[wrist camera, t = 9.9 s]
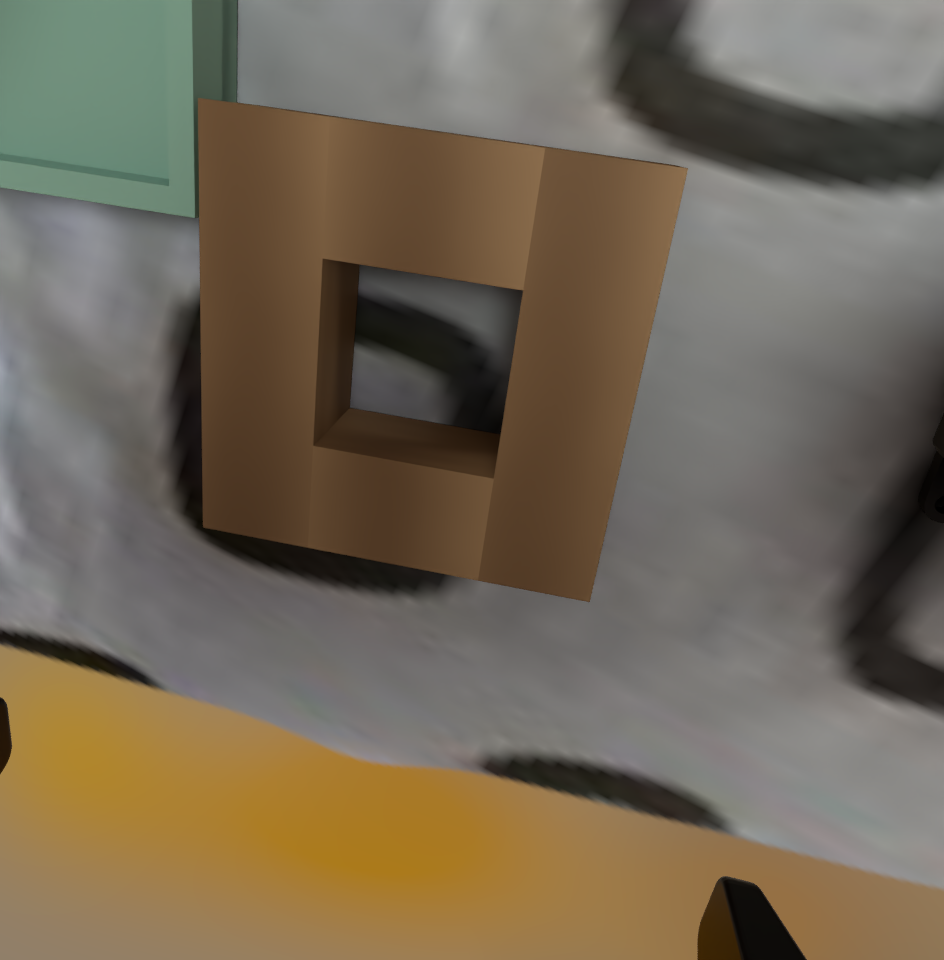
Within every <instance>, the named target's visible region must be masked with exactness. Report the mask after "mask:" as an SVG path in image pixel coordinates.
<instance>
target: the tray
mask: <svg viewBox="0 0 944 960" xmlns="http://www.w3.org/2000/svg"><path fill="white" fill-rule="evenodd" d="M198 98H203V99H211V100H219V101H227V102H235V103H237V0H0V187H1V188H8V189H14V190H20V191H27V192H33V193H39V194H46V195H52V196H58V197H65V198H71V199H77V200H84V201H90V202H96V203H103V204H109V205H115V206H122V207H128V208H134V209H141V210H147V211H153V212H160V213H166V214H172V215H179V216H185V217H191V218H198V217H199V151H198Z"/></svg>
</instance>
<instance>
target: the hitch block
mask: <svg viewBox="0 0 944 960" xmlns="http://www.w3.org/2000/svg"><path fill="white" fill-rule="evenodd" d="M198 151H199V234H200V318H201V401H202V484H203V528H209V529H214V530H219V531H224V532H229V533H234V534H240V535H245V536H250V537H255V538H260V539H266V540H271V541H276V542H281V543H286V544H291V545H297V546H302V547H307V548H312V549H317V550H323V551H328V552H333V553H338V554H343V555H348V556H354V557H359V558H364V559H369V560H374V561H379V562H385V563H390V564H395V565H400V566H405V567H411V568H416V569H421V570H426V571H431V572H436V573H442V574H447V575H452V576H457V577H462V578H467V579H473V580H478V581H483V582H488V583H493V584H499V585H504V586H509V587H514V588H519V589H524V590H530V591H535V592H540V593H545V594H550V595H556V596H561V597H566V598H571V599H576V600H581V601H587V602H590V598H591V594H592V589H593V585H594V580H595V576H596V572H597V567H598V563H599V558H600V554H601V550H602V545H603V541H604V536H605V532H606V528H607V523H608V519H609V514H610V510H611V506H612V501H613V497H614V492H615V488H616V483H617V479H618V475H619V470H620V466H621V461H622V457H623V453H624V448H625V444H626V439H627V435H628V431H629V426H630V422H631V417H632V413H633V409H634V404H635V400H636V395H637V391H638V386H639V382H640V378H641V373H642V369H643V364H644V360H645V356H646V351H647V347H648V342H649V338H650V334H651V329H652V325H653V320H654V316H655V312H656V307H657V303H658V298H659V294H660V289H661V285H662V281H663V276H664V272H665V267H666V263H667V259H668V254H669V250H670V245H671V241H672V237H673V232H674V228H675V223H676V219H677V215H678V210H679V206H680V201H681V197H682V192H683V188H684V184H685V179H686V175H687V170H688V168H684V167H680V166H675V165H669V164H662V163H655V162H648V161H641V160H634V159H627V158H620V157H613V156H606V155H600V154H593V153H586V152H579V151H572V150H565V149H558V148H551V147H544V146H537V145H530V144H523V143H516V142H509V141H502V140H495V139H488V138H481V137H474V136H468V135H461V134H454V133H447V132H440V131H433V130H426V129H419V128H412V127H405V126H398V125H391V124H384V123H377V122H370V121H363V120H356V119H349V118H342V117H336V116H329V115H322V114H315V113H308V112H301V111H294V110H287V109H280V108H273V107H266V106H259V105H251V104H243V103H235V102H227V101H219V100H211V99H203V98H198ZM360 264H361V265H367V266H373V267H379V268H386V269H392V270H398V271H404V272H410V273H417V274H423V275H429V276H435V277H442V278H448V279H454V280H460V281H467V282H473V283H479V284H485V285H492V286H498V287H504V288H510V289H517V290H523V294H522V301H521V307H520V314H519V320H518V326H517V333H516V339H515V346H514V352H513V359H512V365H511V371H510V378H509V384H508V391H507V397H506V403H505V410H504V416H503V423H502V429H501V435H500V434H495V433H489V432H483V431H478V430H472V429H466V428H461V427H455V426H449V425H444V424H438V423H432V422H427V421H421V420H415V419H410V418H404V417H398V416H393V415H387V414H381V413H376V412H370V411H364V410H359V409H353V408H350V396H351V382H352V367H353V353H354V339H355V325H356V310H357V296H358V282H359V267H360Z"/></svg>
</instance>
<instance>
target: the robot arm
mask: <svg viewBox="0 0 944 960" xmlns="http://www.w3.org/2000/svg"><path fill="white" fill-rule="evenodd" d="M933 444H934V446H935V448H936V449H937V452H936V454H935V457H934V459H933V462H932V464H931V467H930V469H929V472H928V474H927V476H926V479H925V481H924V484H923V486H922V489H921V491H920V494H919V499H918V503H919V506H920V508H921V509H922V510H923V512H924V513H925V514H926V515H927V516H928V517H929V518H930V519H931V520H934V521H937V522H940V523H944V506H942V507H935V502H936V501H937V500H938V498H940V497H942V496H944V413H943V416H942V418H941V421H940V423H939V426H938V428H937V431H936V433H935V436H934V438H933ZM11 749H12V742H11V733H10V725H9V716H8V708H7V704H6V702H5V701H4V699H2V698H0V774H1V772H2V771H3V769H4V768H5V766H6V764H7V762H8V760H9V757H10V754H11ZM698 960H807V959H806V958H805V956H804V955H803V953H802V952H801V950H800V949H799V947H798V946H797V944H796V943H795V941H794V940H793V938H792V936H791V935H790V934H789V932H788V930H787V929H786V927H785V926H784V924H783V923H782V921H781V920H780V918H779V917H778V915H777V914H776V912H775V910H774V909H773V908H772V906H771V904H770V903H769V901H768V900H767V898H766V897H765V895H764V894H763V892H762V891H761V889H760V888H759V887H758V886H757V885H755V884H754V883H751V882H748V881H744V880H740V879H736V878H731V877H727V876H725V877H721V878H720V879H719V880H718V881H717V883H716V885H715V888H714V890H713V892H712V895H711V897H710V900H709V903H708V905H707V907H706V909H705V912H704V914H703V917H702V919H701V922H700V926H699V932H698Z"/></svg>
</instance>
